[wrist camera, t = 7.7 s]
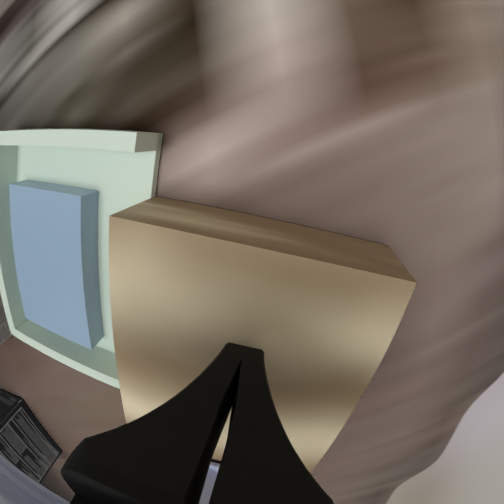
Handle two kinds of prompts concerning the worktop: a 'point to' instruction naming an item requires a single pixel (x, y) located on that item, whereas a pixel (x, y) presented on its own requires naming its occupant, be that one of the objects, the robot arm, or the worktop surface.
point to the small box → (25, 439)
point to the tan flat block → (251, 310)
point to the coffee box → (3, 324)
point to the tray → (110, 201)
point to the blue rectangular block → (58, 258)
